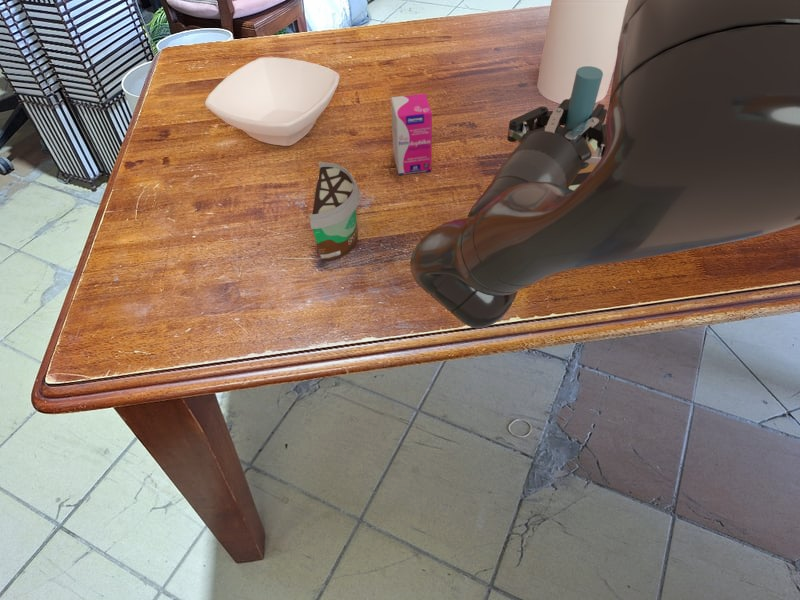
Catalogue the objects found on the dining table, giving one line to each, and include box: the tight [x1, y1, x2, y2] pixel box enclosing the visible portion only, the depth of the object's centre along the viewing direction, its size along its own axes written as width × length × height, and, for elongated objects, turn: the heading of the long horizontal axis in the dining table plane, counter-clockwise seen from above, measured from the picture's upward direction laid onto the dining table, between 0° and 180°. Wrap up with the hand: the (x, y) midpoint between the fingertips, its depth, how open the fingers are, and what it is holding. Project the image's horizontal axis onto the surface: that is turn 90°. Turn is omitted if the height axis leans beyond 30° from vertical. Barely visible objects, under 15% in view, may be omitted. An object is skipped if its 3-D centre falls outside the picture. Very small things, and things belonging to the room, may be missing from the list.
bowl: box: [204, 56, 340, 147], centre depth 95 cm, size 21×21×9 cm
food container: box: [308, 161, 361, 263], centre depth 76 cm, size 12×6×10 cm, turn 179°
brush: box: [563, 66, 603, 186], centre depth 68 cm, size 7×5×15 cm, turn 99°
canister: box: [536, 0, 628, 105], centre depth 96 cm, size 14×14×20 cm
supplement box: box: [390, 93, 433, 176], centre depth 86 cm, size 6×6×12 cm
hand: (586, 107), depth 68 cm, fingers closed on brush, 3 cm apart
